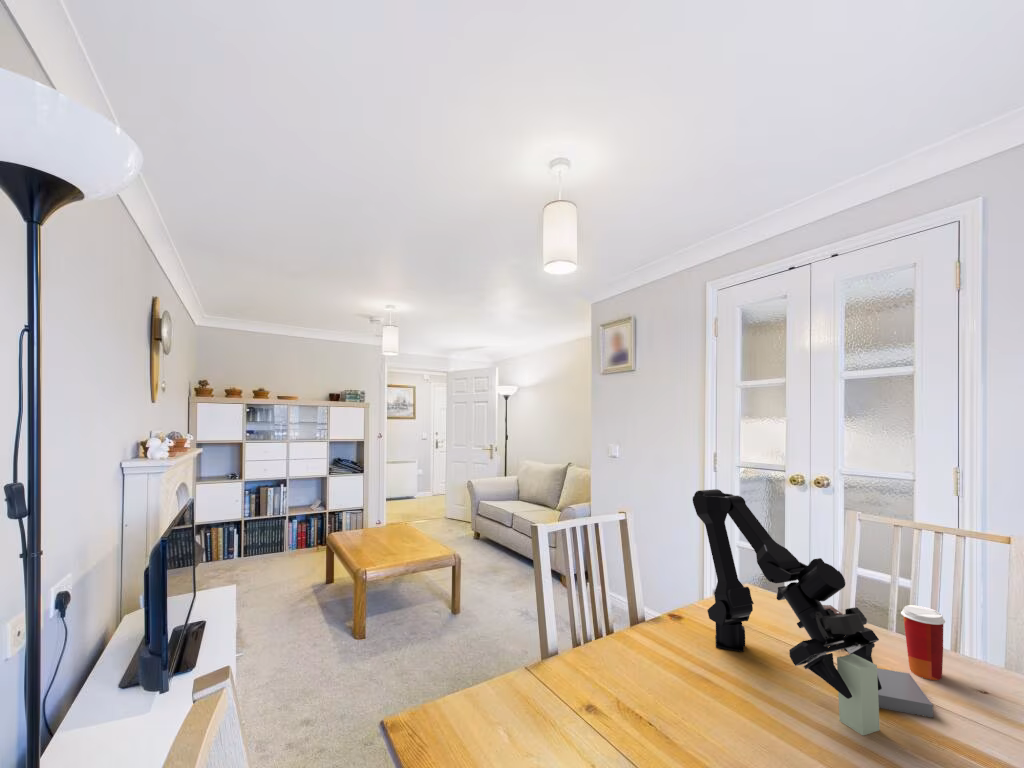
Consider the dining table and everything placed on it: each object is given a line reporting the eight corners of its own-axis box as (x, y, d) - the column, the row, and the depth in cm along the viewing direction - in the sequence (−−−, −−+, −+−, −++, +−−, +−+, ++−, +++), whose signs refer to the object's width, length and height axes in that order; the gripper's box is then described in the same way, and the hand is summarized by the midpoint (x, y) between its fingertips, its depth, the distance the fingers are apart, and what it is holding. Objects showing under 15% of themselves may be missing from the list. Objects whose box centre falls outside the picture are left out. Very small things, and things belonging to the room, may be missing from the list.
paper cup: (937, 667, 112) (934, 606, 112) (955, 685, 104) (952, 620, 105) (897, 662, 114) (894, 602, 115) (912, 679, 107) (909, 615, 108)
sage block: (839, 720, 93) (836, 657, 94) (855, 715, 95) (853, 653, 95) (862, 735, 89) (860, 669, 90) (879, 730, 90) (876, 665, 91)
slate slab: (859, 703, 98) (859, 691, 98) (844, 673, 109) (844, 662, 110) (933, 717, 94) (932, 704, 94) (909, 685, 105) (909, 673, 105)
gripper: (799, 600, 94) (859, 689, 83) (867, 587, 100) (930, 669, 89) (768, 624, 101) (818, 709, 90) (832, 611, 107) (887, 689, 96)
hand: (865, 693), depth 91 cm, fingers open, 8 cm apart
